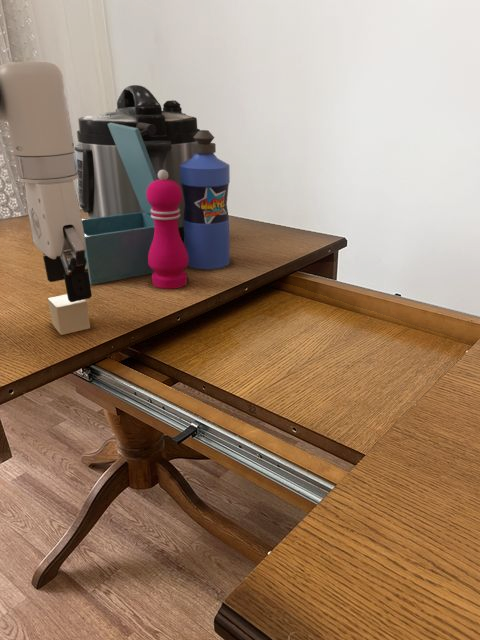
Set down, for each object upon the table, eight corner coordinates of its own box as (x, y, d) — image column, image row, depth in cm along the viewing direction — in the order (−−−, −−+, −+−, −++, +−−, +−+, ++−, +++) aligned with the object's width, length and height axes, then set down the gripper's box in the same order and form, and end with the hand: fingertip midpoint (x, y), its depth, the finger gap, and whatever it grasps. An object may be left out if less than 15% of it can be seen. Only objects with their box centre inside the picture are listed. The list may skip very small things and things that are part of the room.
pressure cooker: (118, 213, 147) (104, 82, 132) (219, 220, 142) (217, 85, 127) (60, 244, 120) (34, 85, 106) (181, 254, 116) (172, 88, 101)
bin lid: (134, 130, 92) (161, 118, 94) (107, 124, 101) (132, 113, 103) (169, 223, 102) (193, 210, 104) (141, 210, 111) (164, 199, 113)
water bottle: (237, 265, 109) (237, 132, 98) (194, 272, 105) (188, 133, 94) (219, 253, 117) (217, 127, 105) (178, 258, 113) (171, 128, 101)
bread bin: (91, 285, 98) (84, 237, 94) (69, 266, 107) (62, 221, 103) (174, 269, 107) (171, 224, 103) (147, 252, 116) (143, 211, 112)
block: (61, 335, 80) (56, 307, 78) (52, 324, 83) (47, 297, 81) (90, 328, 82) (86, 301, 80) (80, 318, 85) (76, 292, 83)
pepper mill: (195, 278, 102) (191, 167, 93) (180, 292, 96) (173, 174, 87) (160, 274, 104) (152, 165, 94) (142, 287, 97) (132, 171, 88)
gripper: (2, 162, 76) (27, 278, 84) (36, 180, 64) (61, 314, 71) (56, 157, 80) (75, 268, 88) (98, 173, 67) (116, 301, 75)
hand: (69, 289), depth 80 cm, fingers open, 9 cm apart
